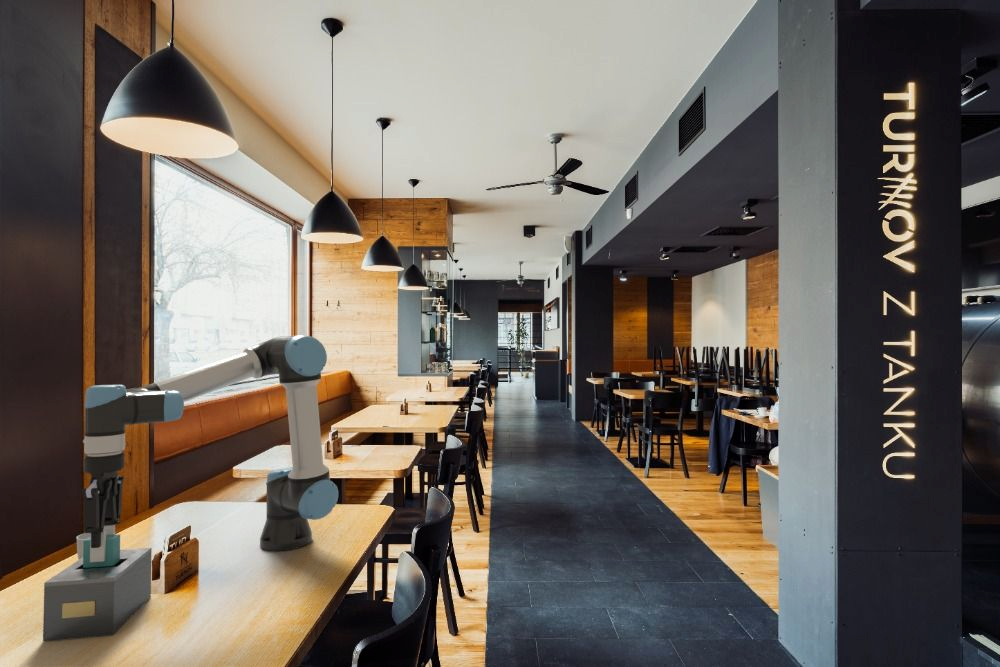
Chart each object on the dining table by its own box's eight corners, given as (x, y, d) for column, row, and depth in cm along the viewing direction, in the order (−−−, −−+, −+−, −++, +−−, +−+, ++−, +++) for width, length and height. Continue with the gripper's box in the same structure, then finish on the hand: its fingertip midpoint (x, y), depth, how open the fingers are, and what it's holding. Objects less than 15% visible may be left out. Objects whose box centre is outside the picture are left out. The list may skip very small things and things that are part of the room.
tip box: (150, 597, 133) (151, 547, 133) (112, 635, 115) (113, 577, 115) (90, 602, 130) (91, 551, 131) (42, 642, 112) (43, 583, 113)
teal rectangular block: (119, 560, 125) (120, 534, 125) (113, 565, 122) (113, 538, 122) (90, 562, 124) (91, 535, 124) (83, 567, 121) (83, 540, 121)
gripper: (105, 447, 131) (103, 546, 131) (64, 461, 115) (61, 573, 114) (139, 446, 133) (137, 544, 132) (104, 459, 117) (101, 570, 116)
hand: (102, 557), depth 123 cm, fingers open, 3 cm apart
